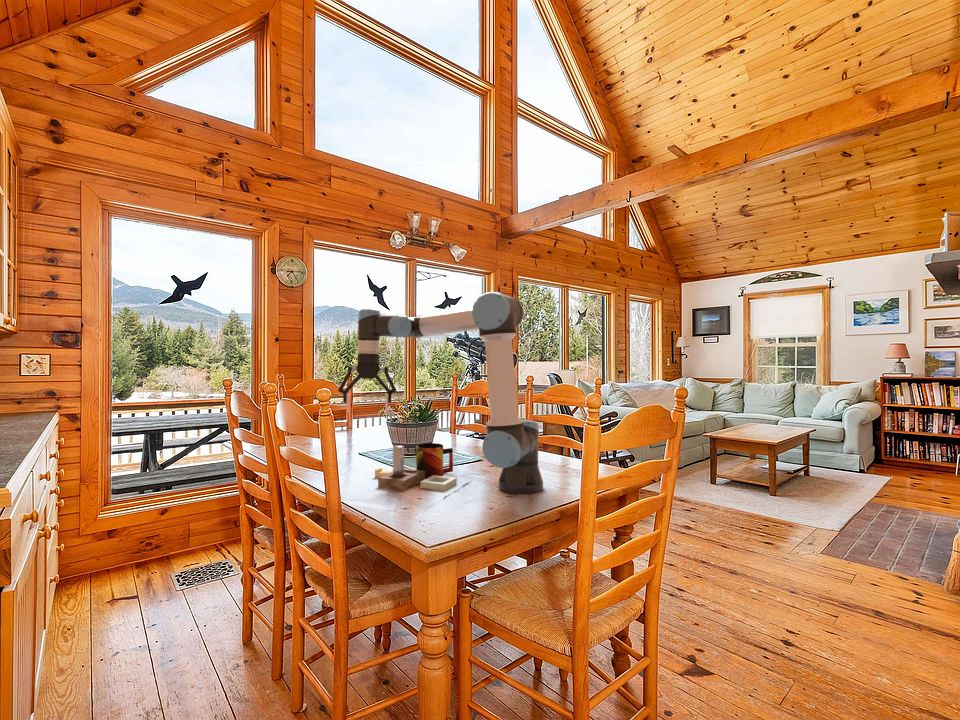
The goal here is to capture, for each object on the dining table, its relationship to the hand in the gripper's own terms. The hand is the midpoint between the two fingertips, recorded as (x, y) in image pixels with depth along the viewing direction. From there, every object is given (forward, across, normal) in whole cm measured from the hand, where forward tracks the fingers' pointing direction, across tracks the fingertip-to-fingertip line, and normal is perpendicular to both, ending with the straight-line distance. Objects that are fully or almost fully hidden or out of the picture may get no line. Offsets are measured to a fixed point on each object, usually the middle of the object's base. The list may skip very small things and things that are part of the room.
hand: (367, 412), depth 174 cm
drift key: (+24, -8, +4) cm, 26 cm away
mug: (+24, -24, +3) cm, 34 cm away
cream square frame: (+23, -24, +18) cm, 38 cm away
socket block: (+24, -12, +12) cm, 29 cm away
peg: (+23, -10, +14) cm, 29 cm away
